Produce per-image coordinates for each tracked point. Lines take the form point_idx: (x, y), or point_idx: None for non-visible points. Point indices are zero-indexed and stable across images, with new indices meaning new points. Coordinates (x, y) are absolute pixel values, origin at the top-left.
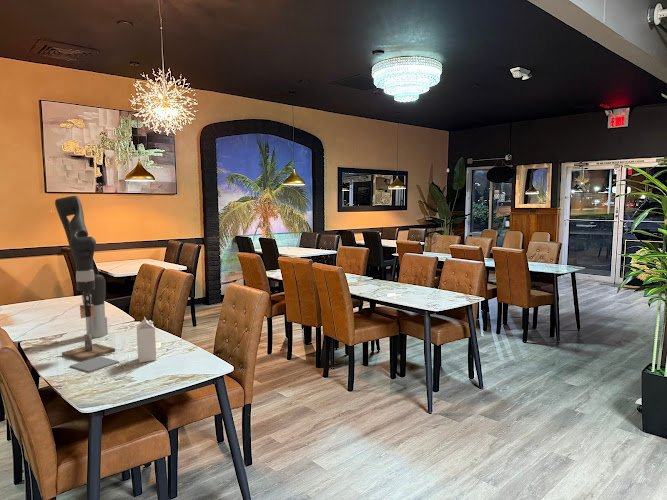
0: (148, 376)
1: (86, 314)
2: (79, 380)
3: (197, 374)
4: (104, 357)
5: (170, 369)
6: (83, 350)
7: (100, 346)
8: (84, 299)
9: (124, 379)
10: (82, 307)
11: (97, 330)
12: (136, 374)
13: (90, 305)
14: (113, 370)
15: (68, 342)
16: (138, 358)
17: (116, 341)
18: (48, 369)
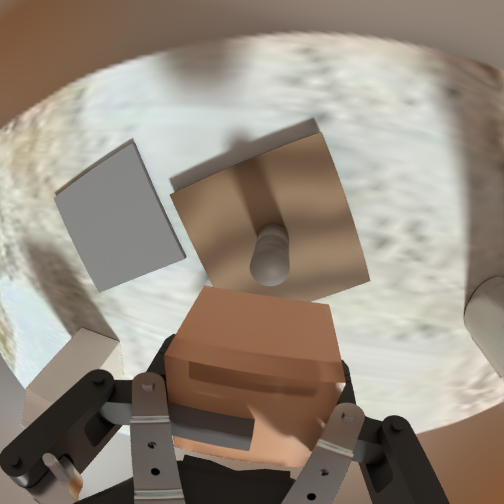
0: (10, 302)
1: (164, 342)
2: (23, 168)
3: (12, 359)
4: (159, 268)
5: (34, 347)
6: (287, 218)
7: (302, 290)
8: (17, 437)
9: (4, 260)
10: (166, 374)
11: (479, 321)
12: (20, 289)
13: (90, 422)
14: (51, 257)
15: (488, 205)
16: (96, 337)
17: (369, 349)
18: (152, 74)
